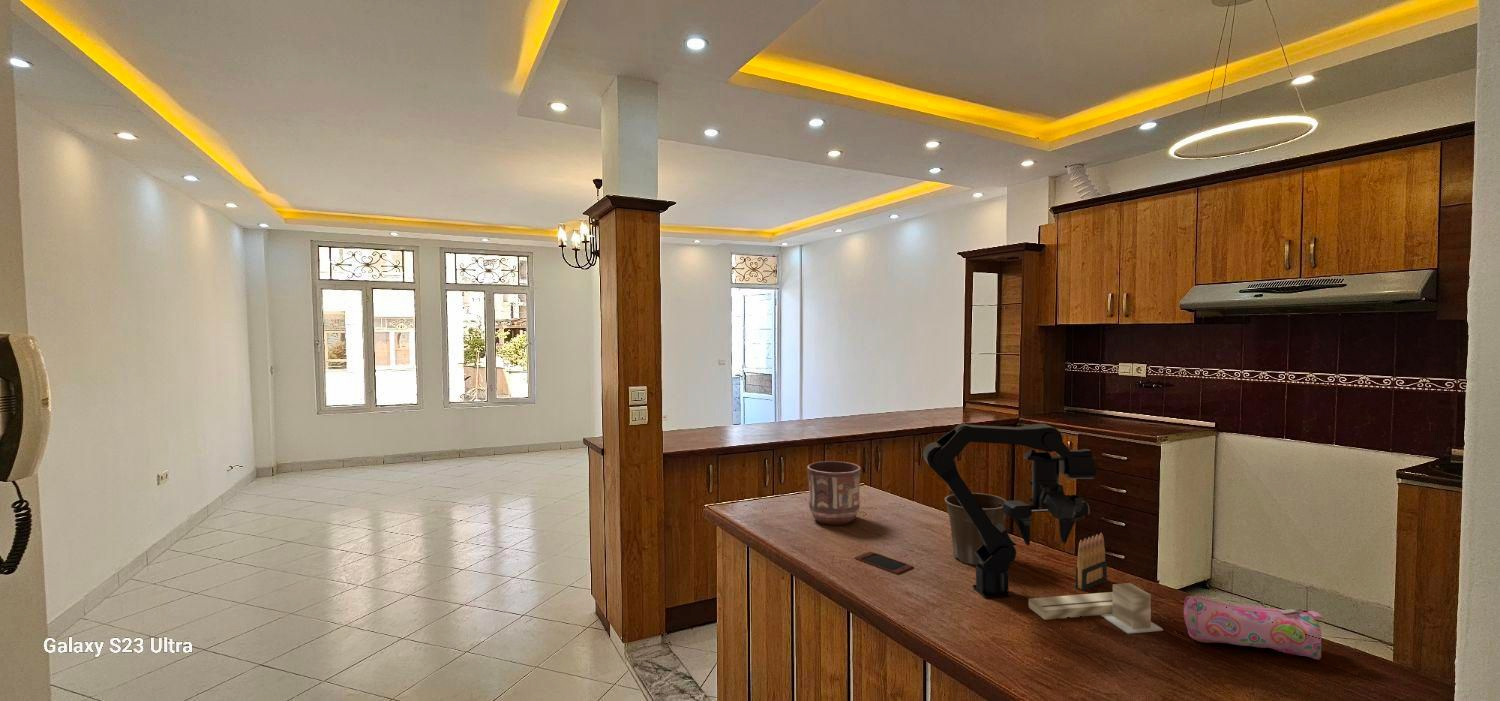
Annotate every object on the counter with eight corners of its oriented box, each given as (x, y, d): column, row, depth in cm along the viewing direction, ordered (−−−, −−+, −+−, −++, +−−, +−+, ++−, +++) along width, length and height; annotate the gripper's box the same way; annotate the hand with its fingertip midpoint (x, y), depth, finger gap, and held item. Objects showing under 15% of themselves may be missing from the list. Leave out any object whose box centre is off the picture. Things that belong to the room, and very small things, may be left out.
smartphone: (897, 572, 161) (853, 556, 172) (897, 576, 161) (853, 560, 172) (914, 565, 165) (870, 550, 177) (914, 569, 165) (870, 554, 177)
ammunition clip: (1082, 591, 149) (1082, 541, 149) (1075, 588, 151) (1075, 539, 150) (1107, 580, 155) (1107, 532, 155) (1099, 578, 157) (1099, 530, 156)
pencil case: (1308, 645, 123) (1309, 600, 123) (1331, 669, 114) (1332, 621, 114) (1180, 628, 131) (1180, 585, 130) (1192, 649, 122) (1193, 604, 122)
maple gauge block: (1132, 629, 130) (1133, 596, 129) (1112, 615, 136) (1112, 584, 135) (1150, 627, 130) (1150, 594, 130) (1129, 614, 136) (1129, 582, 136)
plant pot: (942, 565, 167) (942, 505, 166) (947, 545, 182) (947, 490, 181) (1008, 573, 161) (1008, 511, 160) (1008, 551, 176) (1007, 495, 175)
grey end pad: (1127, 633, 128) (1127, 632, 128) (1101, 615, 136) (1101, 614, 136) (1163, 630, 129) (1163, 629, 129) (1134, 613, 137) (1134, 611, 137)
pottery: (805, 527, 200) (804, 471, 199) (809, 511, 217) (808, 460, 217) (861, 530, 197) (861, 473, 196) (860, 513, 214) (860, 461, 214)
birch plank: (1044, 619, 135) (1044, 610, 135) (1028, 607, 141) (1028, 598, 141) (1137, 611, 138) (1137, 602, 138) (1117, 600, 144) (1117, 591, 144)
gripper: (1028, 489, 138) (1028, 558, 138) (1105, 484, 140) (1105, 553, 141) (1001, 477, 149) (1001, 541, 149) (1073, 473, 151) (1073, 537, 152)
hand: (1045, 543), depth 148 cm, fingers open, 9 cm apart
